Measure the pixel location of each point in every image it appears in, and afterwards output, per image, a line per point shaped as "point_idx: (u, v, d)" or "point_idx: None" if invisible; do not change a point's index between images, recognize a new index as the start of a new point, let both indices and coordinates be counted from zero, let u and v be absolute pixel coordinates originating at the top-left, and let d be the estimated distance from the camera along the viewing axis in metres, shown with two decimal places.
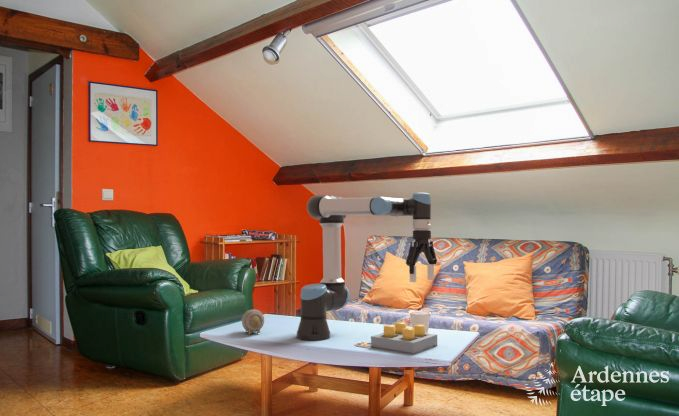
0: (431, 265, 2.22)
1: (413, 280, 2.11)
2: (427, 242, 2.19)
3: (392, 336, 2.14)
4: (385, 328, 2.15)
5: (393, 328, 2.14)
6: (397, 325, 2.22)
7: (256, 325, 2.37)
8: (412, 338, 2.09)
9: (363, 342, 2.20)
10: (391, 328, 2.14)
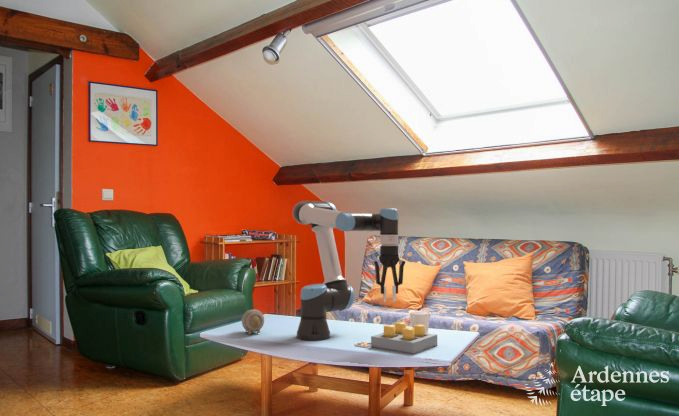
0: (393, 287, 2.17)
1: (384, 300, 2.16)
2: (396, 257, 2.17)
3: (392, 336, 2.14)
4: (385, 328, 2.15)
5: (393, 328, 2.14)
6: (397, 325, 2.22)
7: (256, 325, 2.37)
8: (412, 338, 2.09)
9: (363, 342, 2.20)
10: (391, 328, 2.14)
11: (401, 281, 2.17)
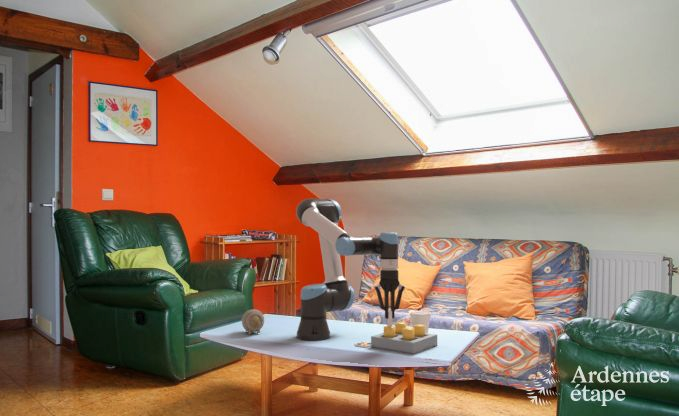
0: None
1: (388, 325, 2.16)
2: (397, 281, 2.16)
3: (392, 337, 2.14)
4: (385, 329, 2.15)
5: (393, 329, 2.14)
6: (397, 325, 2.22)
7: (256, 325, 2.37)
8: (412, 338, 2.09)
9: (363, 342, 2.20)
10: (391, 329, 2.14)
11: (398, 306, 2.16)
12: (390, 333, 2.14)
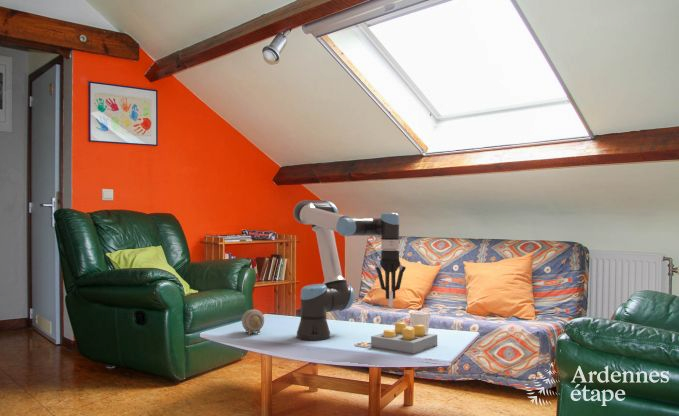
0: None
1: (388, 305, 2.16)
2: (397, 262, 2.17)
3: None
4: (385, 333, 2.15)
5: (393, 333, 2.14)
6: (397, 325, 2.22)
7: (256, 325, 2.37)
8: (412, 338, 2.09)
9: (363, 342, 2.20)
10: (391, 333, 2.14)
11: (398, 286, 2.16)
12: (390, 337, 2.14)
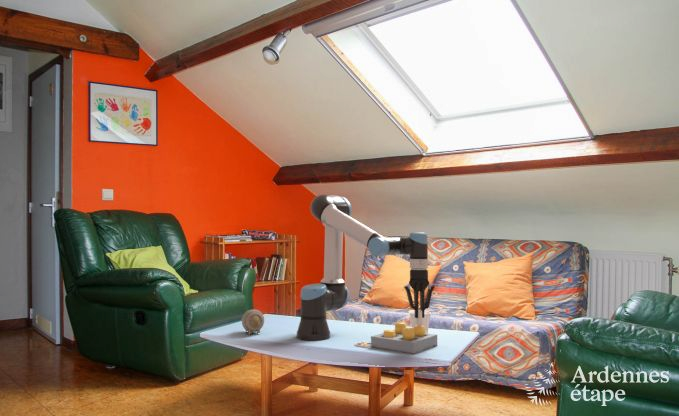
0: None
1: (418, 324, 2.17)
2: (426, 281, 2.18)
3: None
4: (385, 333, 2.15)
5: (393, 333, 2.14)
6: (397, 325, 2.22)
7: (256, 325, 2.37)
8: (412, 338, 2.09)
9: (363, 342, 2.20)
10: (391, 333, 2.14)
11: (427, 305, 2.18)
12: (390, 337, 2.14)
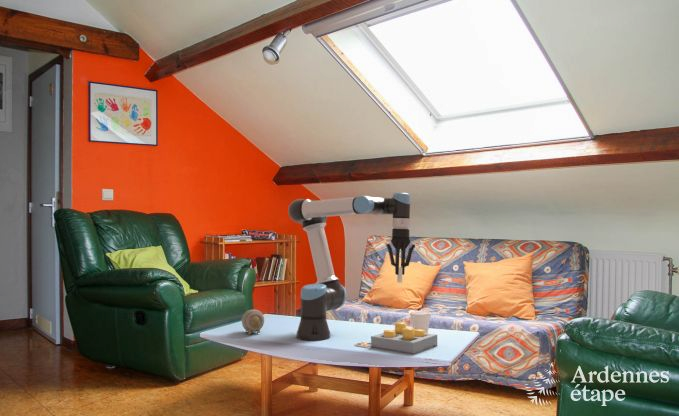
0: None
1: (398, 280, 2.27)
2: (407, 240, 2.27)
3: None
4: (385, 333, 2.15)
5: (393, 333, 2.14)
6: (397, 325, 2.22)
7: (256, 325, 2.37)
8: (412, 338, 2.09)
9: (363, 342, 2.20)
10: (391, 333, 2.14)
11: (408, 263, 2.27)
12: (390, 337, 2.14)
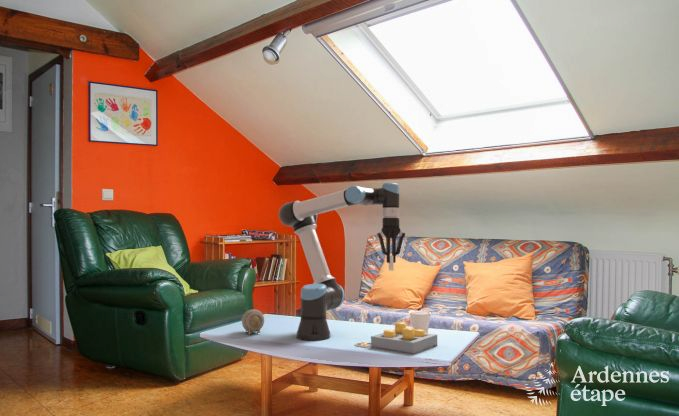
0: None
1: (389, 268, 2.32)
2: (398, 228, 2.33)
3: None
4: (385, 333, 2.15)
5: (393, 333, 2.14)
6: (397, 325, 2.22)
7: (256, 325, 2.37)
8: (412, 338, 2.09)
9: (363, 342, 2.20)
10: (391, 333, 2.14)
11: (398, 251, 2.32)
12: (390, 337, 2.14)
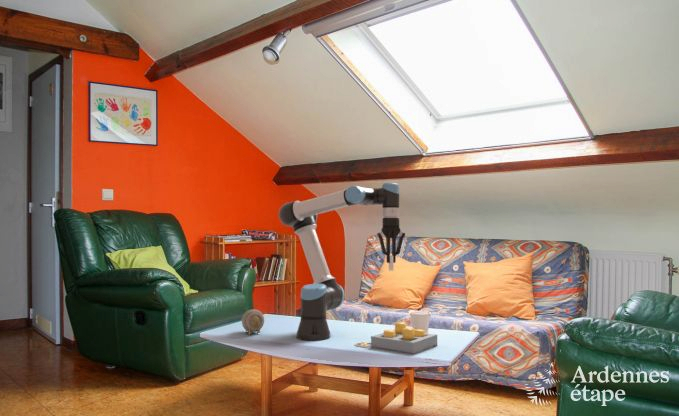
0: None
1: (389, 268, 2.32)
2: (398, 228, 2.33)
3: None
4: (385, 333, 2.15)
5: (393, 333, 2.14)
6: (397, 325, 2.22)
7: (256, 325, 2.37)
8: (412, 338, 2.09)
9: (363, 342, 2.20)
10: (391, 333, 2.14)
11: (398, 251, 2.32)
12: (390, 337, 2.14)
